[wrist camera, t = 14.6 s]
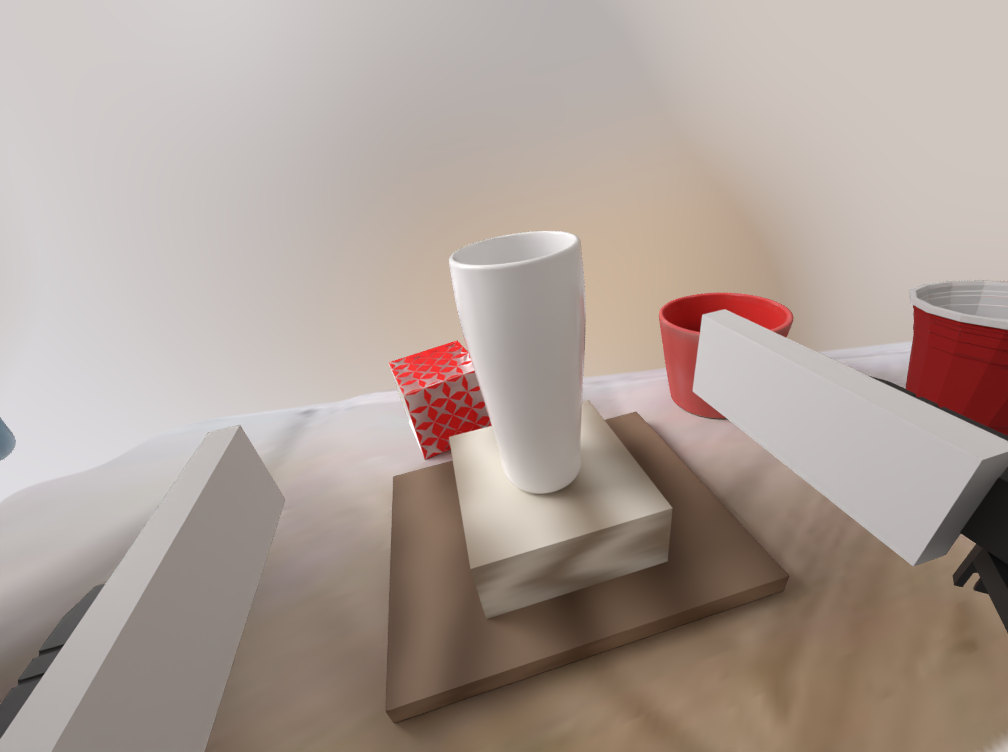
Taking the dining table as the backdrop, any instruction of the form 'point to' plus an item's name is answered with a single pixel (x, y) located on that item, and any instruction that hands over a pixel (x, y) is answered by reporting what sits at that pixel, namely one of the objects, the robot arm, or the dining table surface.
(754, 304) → the flower pot
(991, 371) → the plastic cup
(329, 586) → the dining table surface
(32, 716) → the robot arm
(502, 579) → the display stand
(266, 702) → the dining table surface
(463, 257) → the drinking glass
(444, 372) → the red patterned cube
